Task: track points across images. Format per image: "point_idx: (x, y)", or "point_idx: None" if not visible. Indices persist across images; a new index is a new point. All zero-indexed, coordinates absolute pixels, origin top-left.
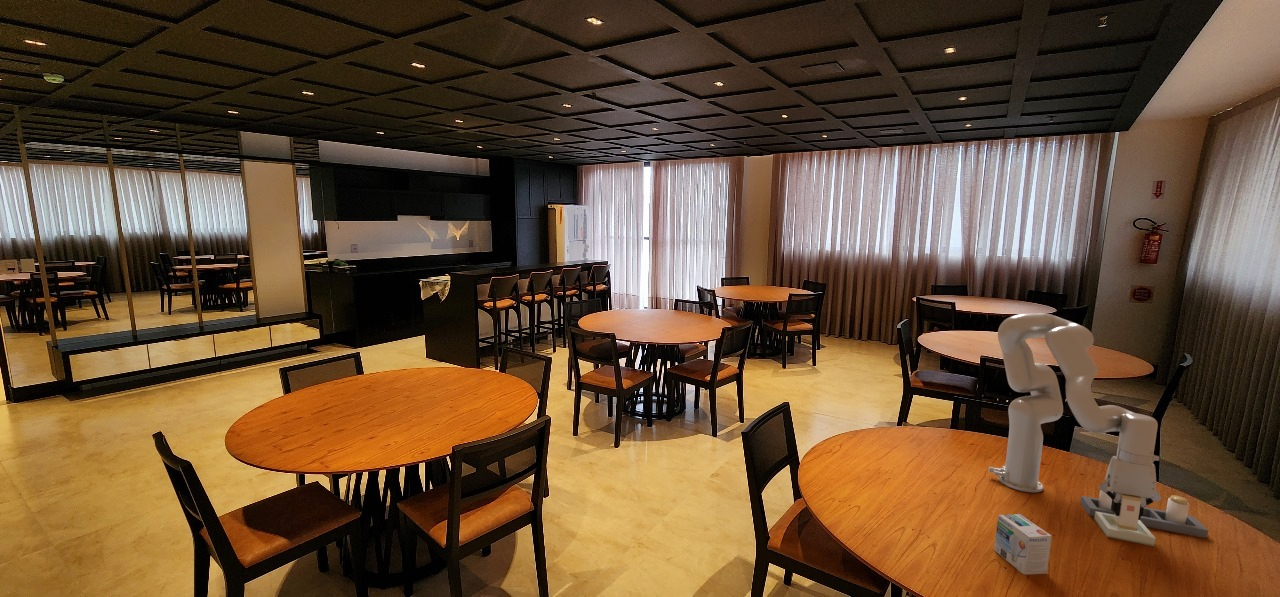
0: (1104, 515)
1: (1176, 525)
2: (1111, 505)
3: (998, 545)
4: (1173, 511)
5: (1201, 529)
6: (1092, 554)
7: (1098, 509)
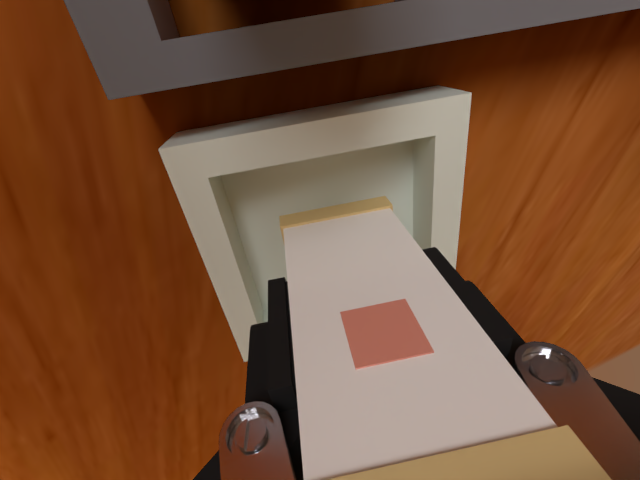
0: (228, 173)
1: None
2: (250, 354)
3: None
4: None
5: None
6: (199, 463)
7: (178, 82)
